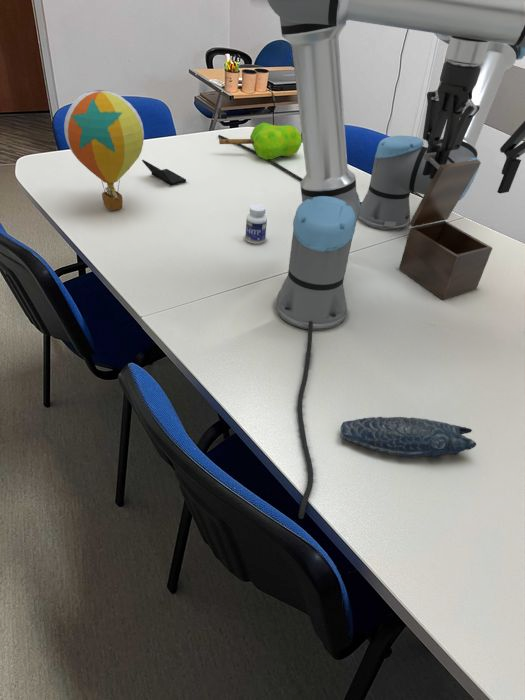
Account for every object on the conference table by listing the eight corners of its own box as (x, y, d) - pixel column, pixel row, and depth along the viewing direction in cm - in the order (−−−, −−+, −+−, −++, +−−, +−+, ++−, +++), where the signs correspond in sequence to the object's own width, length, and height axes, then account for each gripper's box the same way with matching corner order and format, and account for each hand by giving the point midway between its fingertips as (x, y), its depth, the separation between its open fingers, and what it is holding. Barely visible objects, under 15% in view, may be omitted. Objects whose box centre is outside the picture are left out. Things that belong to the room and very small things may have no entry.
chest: (476, 289, 125) (492, 247, 118) (442, 299, 120) (457, 256, 113) (432, 260, 135) (444, 220, 128) (398, 269, 130) (409, 228, 123)
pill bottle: (242, 241, 135) (244, 209, 130) (249, 233, 139) (251, 201, 134) (261, 245, 134) (263, 213, 129) (268, 237, 138) (270, 205, 132)
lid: (481, 162, 115) (457, 142, 119) (443, 168, 110) (420, 146, 114) (447, 219, 127) (426, 199, 131) (412, 227, 122) (392, 205, 126)
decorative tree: (216, 119, 186) (297, 119, 192) (216, 149, 193) (294, 148, 198) (222, 134, 173) (309, 133, 178) (222, 165, 179) (306, 163, 185)
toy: (64, 203, 145) (44, 85, 127) (127, 189, 156) (117, 79, 137) (97, 229, 134) (80, 105, 116) (162, 213, 145) (156, 96, 126)
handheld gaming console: (190, 175, 164) (173, 153, 156) (179, 193, 163) (161, 172, 155) (166, 170, 170) (147, 148, 162) (155, 188, 169) (136, 167, 161)
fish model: (474, 470, 81) (484, 449, 78) (339, 453, 82) (344, 431, 79) (465, 439, 86) (475, 417, 83) (339, 423, 87) (344, 401, 84)
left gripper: (665, 106, 82) (599, 229, 96) (534, 70, 98) (493, 179, 112) (640, 108, 79) (575, 235, 92) (508, 71, 95) (469, 183, 108)
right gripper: (503, 70, 103) (465, 185, 118) (449, 55, 113) (420, 163, 128) (478, 71, 100) (442, 189, 115) (424, 56, 110) (398, 167, 124)
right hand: (431, 176), depth 121 cm, fingers closed on lid, 2 cm apart
